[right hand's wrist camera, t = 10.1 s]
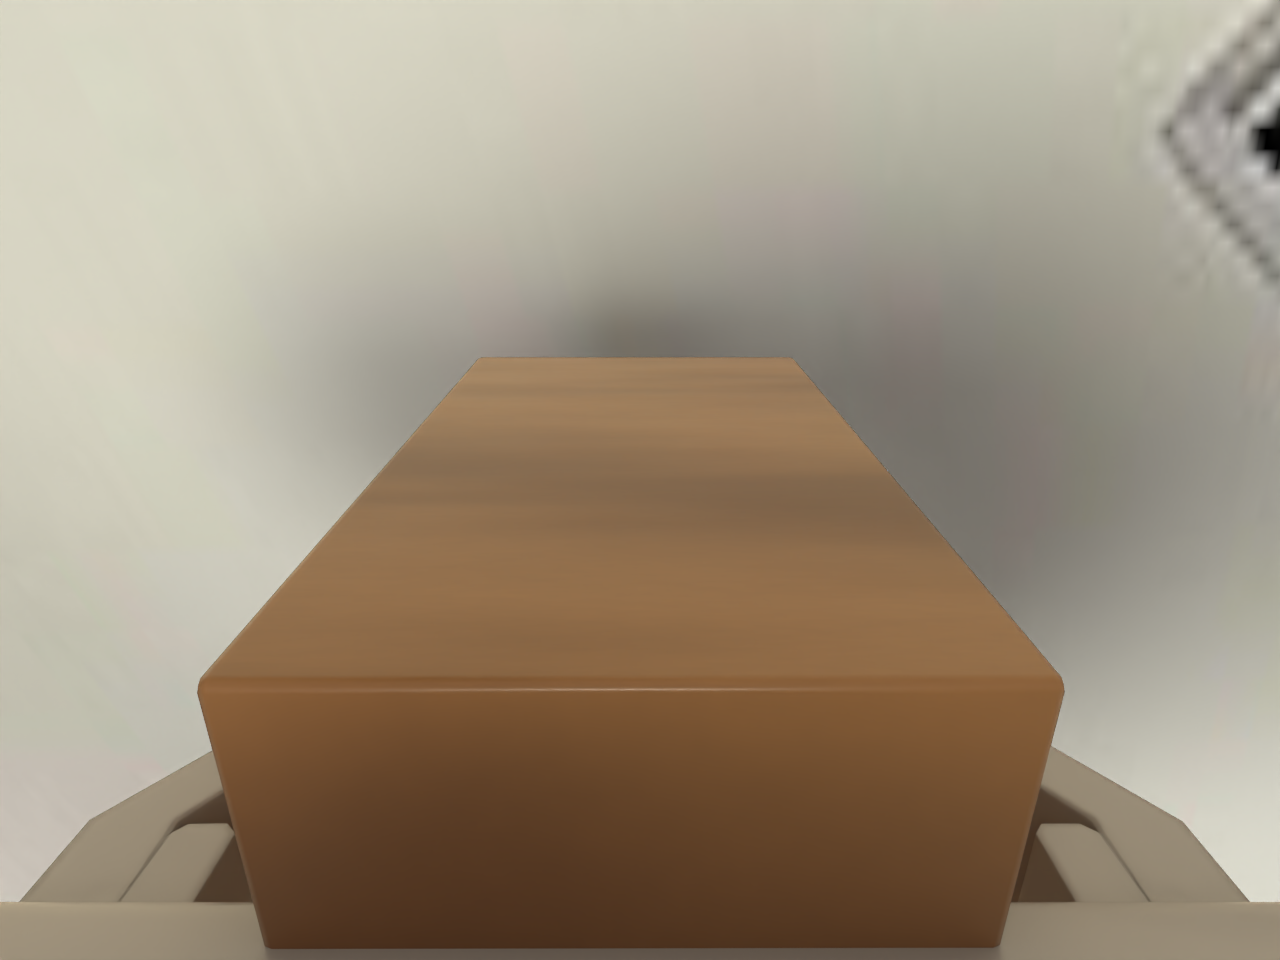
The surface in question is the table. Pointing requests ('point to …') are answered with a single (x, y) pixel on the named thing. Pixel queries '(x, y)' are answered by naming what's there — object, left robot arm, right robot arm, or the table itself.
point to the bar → (632, 685)
